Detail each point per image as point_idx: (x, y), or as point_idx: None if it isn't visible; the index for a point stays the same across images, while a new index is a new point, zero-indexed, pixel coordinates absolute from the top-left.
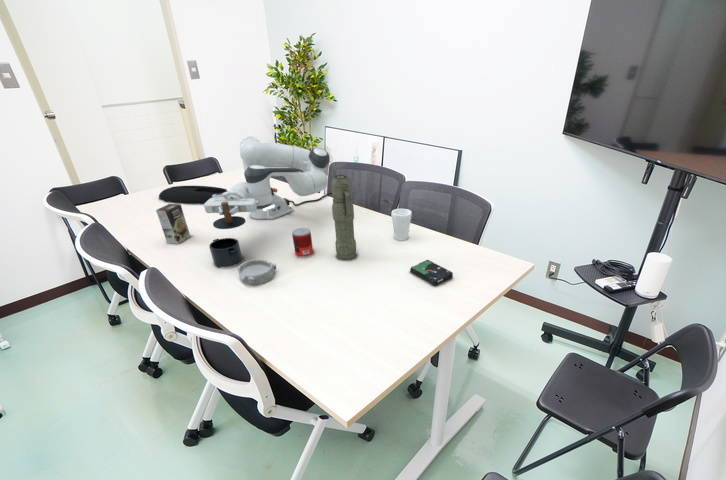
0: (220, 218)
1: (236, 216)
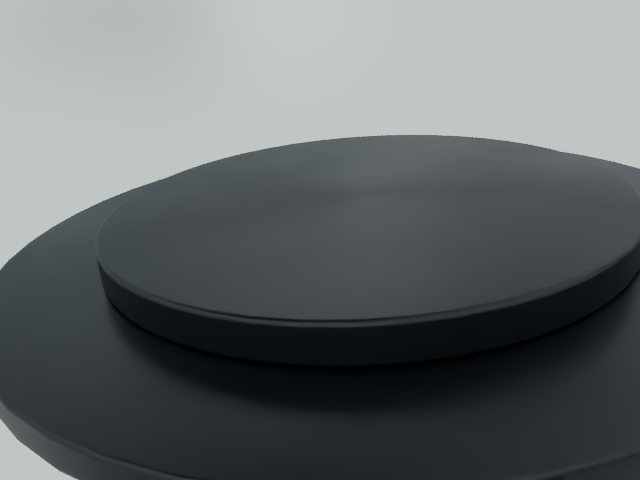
0: (25, 439)
1: (625, 464)
